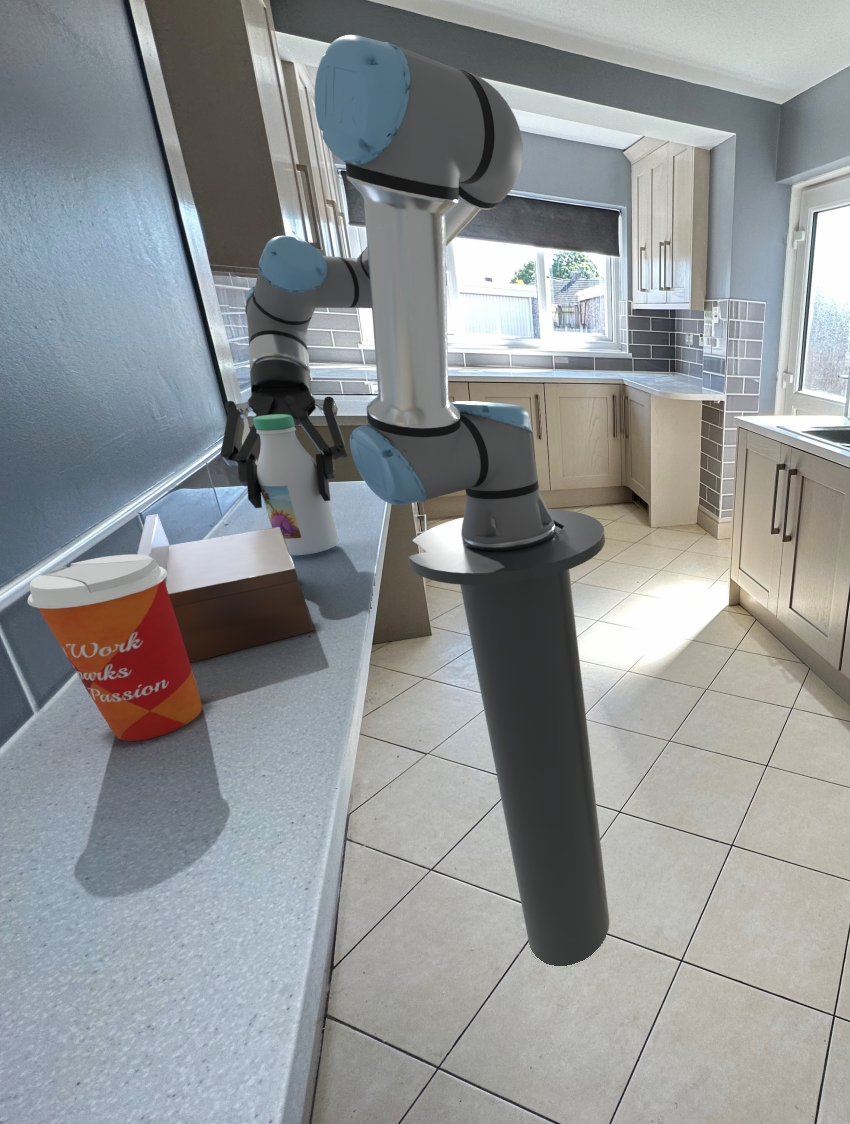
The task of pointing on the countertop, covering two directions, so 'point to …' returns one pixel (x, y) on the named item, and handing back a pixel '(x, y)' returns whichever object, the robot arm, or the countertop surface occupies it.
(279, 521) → the milk bottle
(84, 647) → the coffee cup
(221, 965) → the countertop surface
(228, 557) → the brown wooden box
